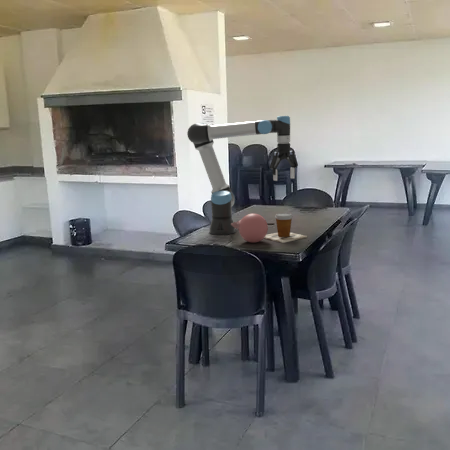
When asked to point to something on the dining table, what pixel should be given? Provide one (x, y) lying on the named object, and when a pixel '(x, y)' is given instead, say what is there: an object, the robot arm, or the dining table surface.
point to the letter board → (284, 239)
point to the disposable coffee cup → (283, 224)
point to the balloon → (252, 227)
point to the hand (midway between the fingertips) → (284, 179)
